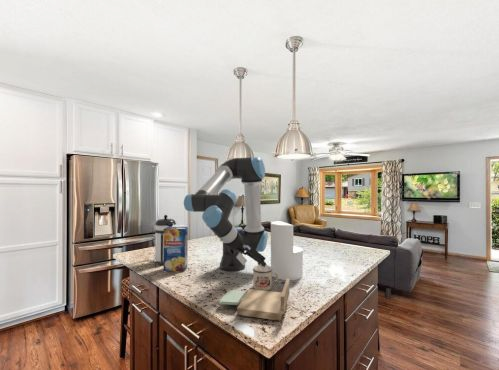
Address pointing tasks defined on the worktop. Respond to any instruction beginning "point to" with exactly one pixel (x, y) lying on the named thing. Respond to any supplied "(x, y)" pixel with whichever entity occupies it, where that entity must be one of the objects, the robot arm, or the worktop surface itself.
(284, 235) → the cylinder
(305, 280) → the worktop surface
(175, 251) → the juice carton
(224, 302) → the panel
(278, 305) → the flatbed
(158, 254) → the coffee press
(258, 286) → the teacup with lid
